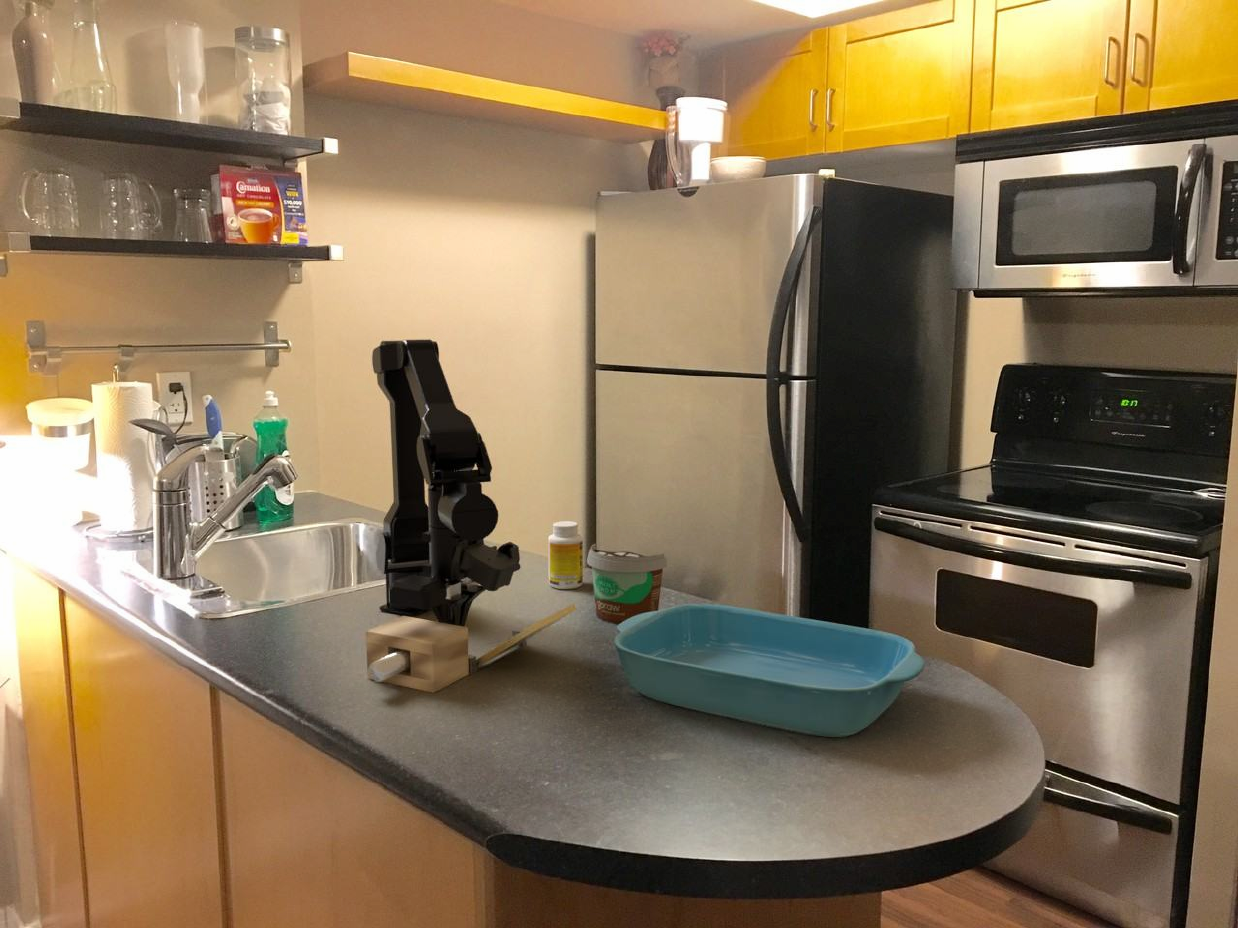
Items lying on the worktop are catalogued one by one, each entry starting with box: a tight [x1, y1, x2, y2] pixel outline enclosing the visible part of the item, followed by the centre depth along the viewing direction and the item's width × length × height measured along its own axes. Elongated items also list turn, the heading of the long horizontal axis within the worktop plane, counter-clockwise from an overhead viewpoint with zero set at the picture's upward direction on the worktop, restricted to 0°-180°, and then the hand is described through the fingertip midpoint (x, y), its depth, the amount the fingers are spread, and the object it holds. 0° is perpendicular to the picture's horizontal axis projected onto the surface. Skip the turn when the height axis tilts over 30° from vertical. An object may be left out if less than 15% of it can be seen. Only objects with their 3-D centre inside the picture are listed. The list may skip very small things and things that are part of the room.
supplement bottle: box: [547, 520, 584, 590], centre depth 169 cm, size 6×6×10 cm
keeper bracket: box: [468, 628, 528, 675], centre depth 136 cm, size 2×13×2 cm, turn 152°
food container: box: [586, 543, 668, 625], centre depth 151 cm, size 12×6×10 cm, turn 62°
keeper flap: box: [476, 603, 577, 668], centre depth 133 cm, size 11×10×1 cm
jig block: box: [365, 615, 470, 694], centre depth 129 cm, size 10×7×6 cm
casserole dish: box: [613, 603, 926, 738], centre depth 123 cm, size 37×22×7 cm, turn 59°
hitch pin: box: [369, 649, 411, 683], centre depth 128 cm, size 4×13×4 cm, turn 152°
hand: (454, 642), depth 135 cm, fingers closed
